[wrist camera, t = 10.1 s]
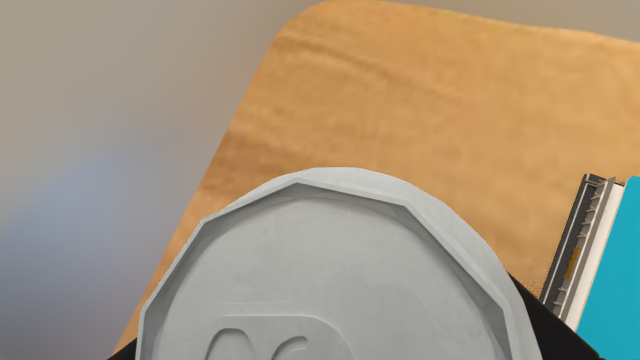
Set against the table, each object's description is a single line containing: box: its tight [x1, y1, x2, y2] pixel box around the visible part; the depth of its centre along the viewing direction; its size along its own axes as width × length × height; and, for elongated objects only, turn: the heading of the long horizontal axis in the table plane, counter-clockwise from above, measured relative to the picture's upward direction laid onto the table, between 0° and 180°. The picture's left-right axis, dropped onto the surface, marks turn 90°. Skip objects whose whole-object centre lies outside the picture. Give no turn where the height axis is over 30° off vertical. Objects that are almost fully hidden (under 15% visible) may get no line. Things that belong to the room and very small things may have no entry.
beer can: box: [135, 167, 543, 360], centre depth 8 cm, size 5×5×12 cm
